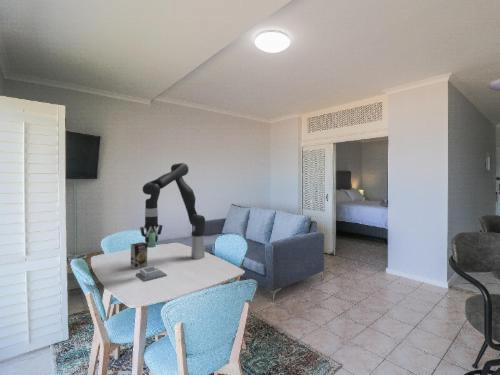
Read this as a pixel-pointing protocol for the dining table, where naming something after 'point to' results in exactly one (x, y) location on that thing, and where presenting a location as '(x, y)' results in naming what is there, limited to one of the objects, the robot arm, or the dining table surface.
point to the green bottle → (151, 239)
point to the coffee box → (138, 255)
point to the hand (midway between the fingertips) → (151, 242)
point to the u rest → (150, 273)
